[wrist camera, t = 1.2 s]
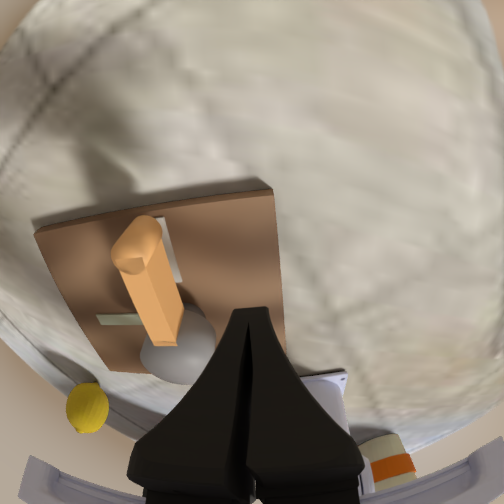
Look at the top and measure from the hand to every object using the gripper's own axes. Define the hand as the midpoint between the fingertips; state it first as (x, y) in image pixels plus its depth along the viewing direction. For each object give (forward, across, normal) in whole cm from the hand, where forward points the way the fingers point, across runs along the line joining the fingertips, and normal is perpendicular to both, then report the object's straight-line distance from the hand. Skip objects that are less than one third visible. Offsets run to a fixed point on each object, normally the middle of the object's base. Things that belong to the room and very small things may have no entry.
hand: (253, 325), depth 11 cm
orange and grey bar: (+6, +6, +3) cm, 9 cm away
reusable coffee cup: (+9, -19, +48) cm, 53 cm away
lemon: (+9, +23, +20) cm, 32 cm away
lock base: (+9, +8, +6) cm, 13 cm away
